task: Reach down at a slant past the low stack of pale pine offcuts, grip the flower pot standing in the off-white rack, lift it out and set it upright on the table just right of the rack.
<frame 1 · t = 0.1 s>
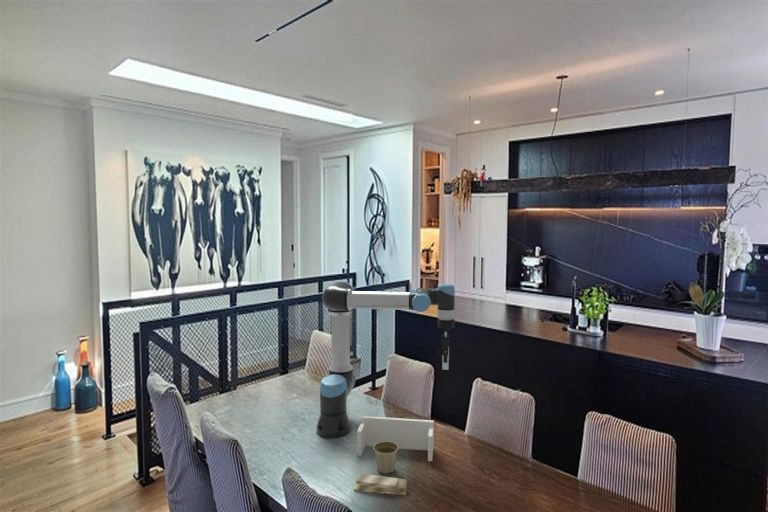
hand: (445, 364, 203), 28 cm above the table, tool pointing down, fingers open, 13 cm apart
offcut stack: (380, 489, 156), on the table
flower pot: (386, 469, 168), on the table
rack: (396, 450, 181), on the table
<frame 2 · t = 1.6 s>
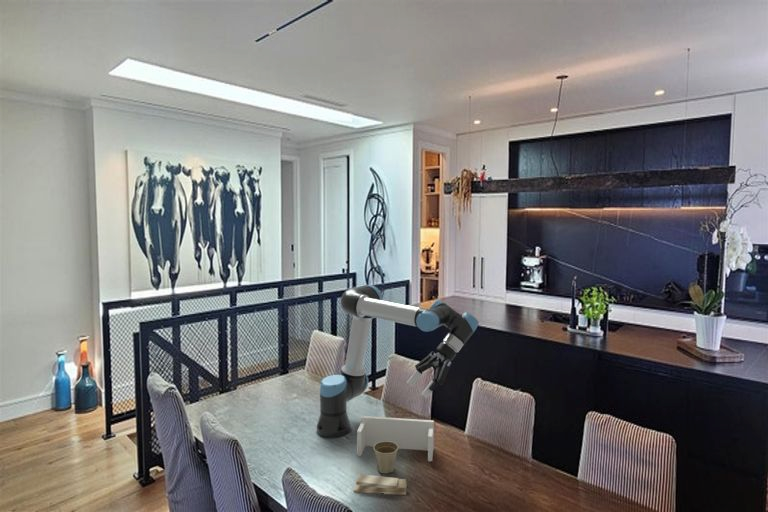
hand: (416, 390, 172), 28 cm above the table, tool tilted 45°, fingers open, 13 cm apart
nothing on the table moved.
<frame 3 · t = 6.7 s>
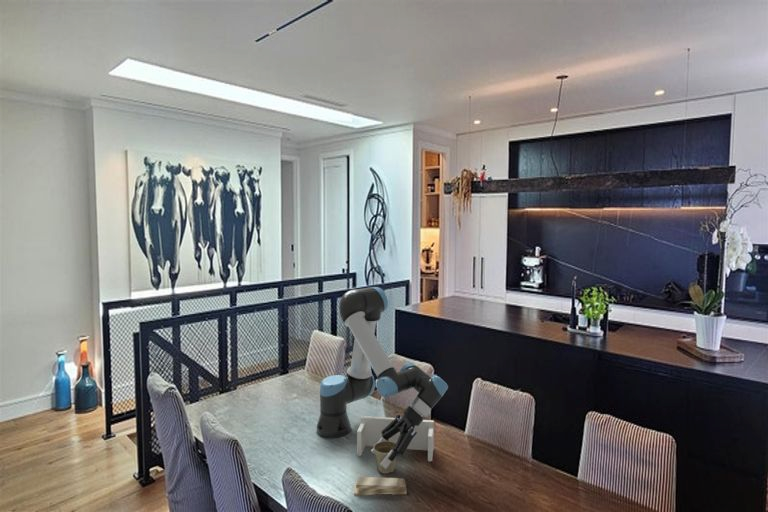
hand: (378, 459, 166), 4 cm above the table, tool tilted 45°, fingers closed on flower pot, 9 cm apart
flower pot: (386, 469, 168), on the table, touching gripper
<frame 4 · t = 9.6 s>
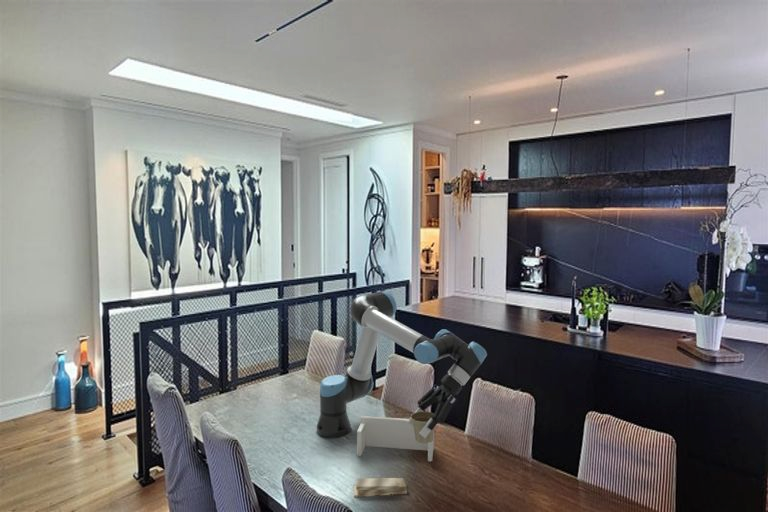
hand: (415, 429, 159), 19 cm above the table, tool tilted 45°, fingers closed on flower pot, 9 cm apart
flower pot: (424, 440, 160), point 14 cm above the table, touching gripper
when the fingers open (6 cm above the table, at t = 12.8 s): flower pot drops 1 cm, on the table.
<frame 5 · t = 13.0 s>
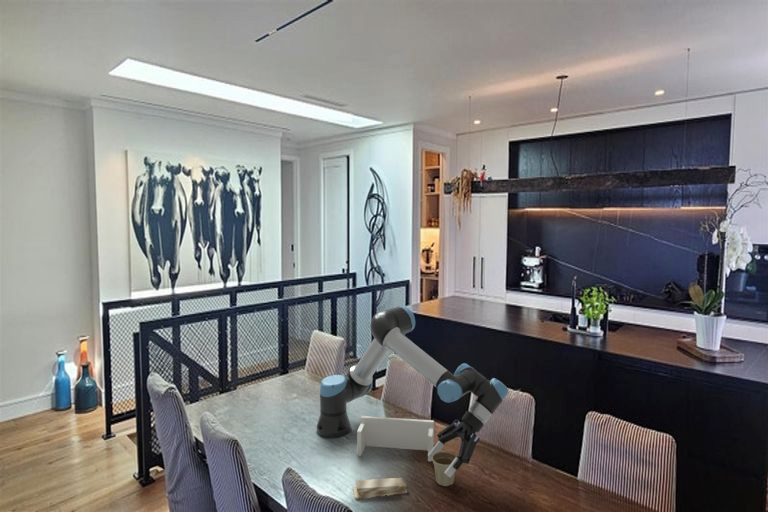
hand: (438, 466, 158), 6 cm above the table, tool tilted 45°, fingers open, 12 cm apart
flower pot: (444, 482, 160), on the table
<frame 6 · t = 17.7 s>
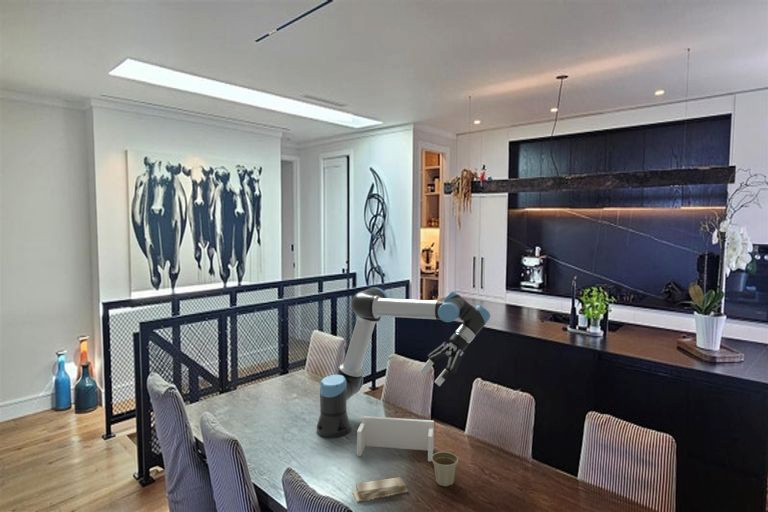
hand: (428, 378, 180), 30 cm above the table, tool tilted 45°, fingers open, 13 cm apart
at the end: flower pot inside the target area (0.2 cm from its centre), on the table; flower pot tilted 0°; the gripper is holding nothing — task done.
